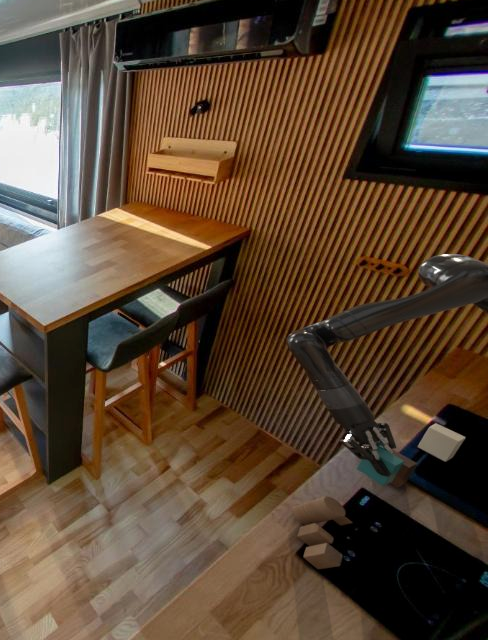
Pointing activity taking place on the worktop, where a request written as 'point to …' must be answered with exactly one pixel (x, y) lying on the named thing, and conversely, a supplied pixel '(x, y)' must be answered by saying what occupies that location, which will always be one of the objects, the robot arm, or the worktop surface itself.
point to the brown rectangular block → (403, 470)
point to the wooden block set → (320, 530)
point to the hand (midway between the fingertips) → (390, 472)
